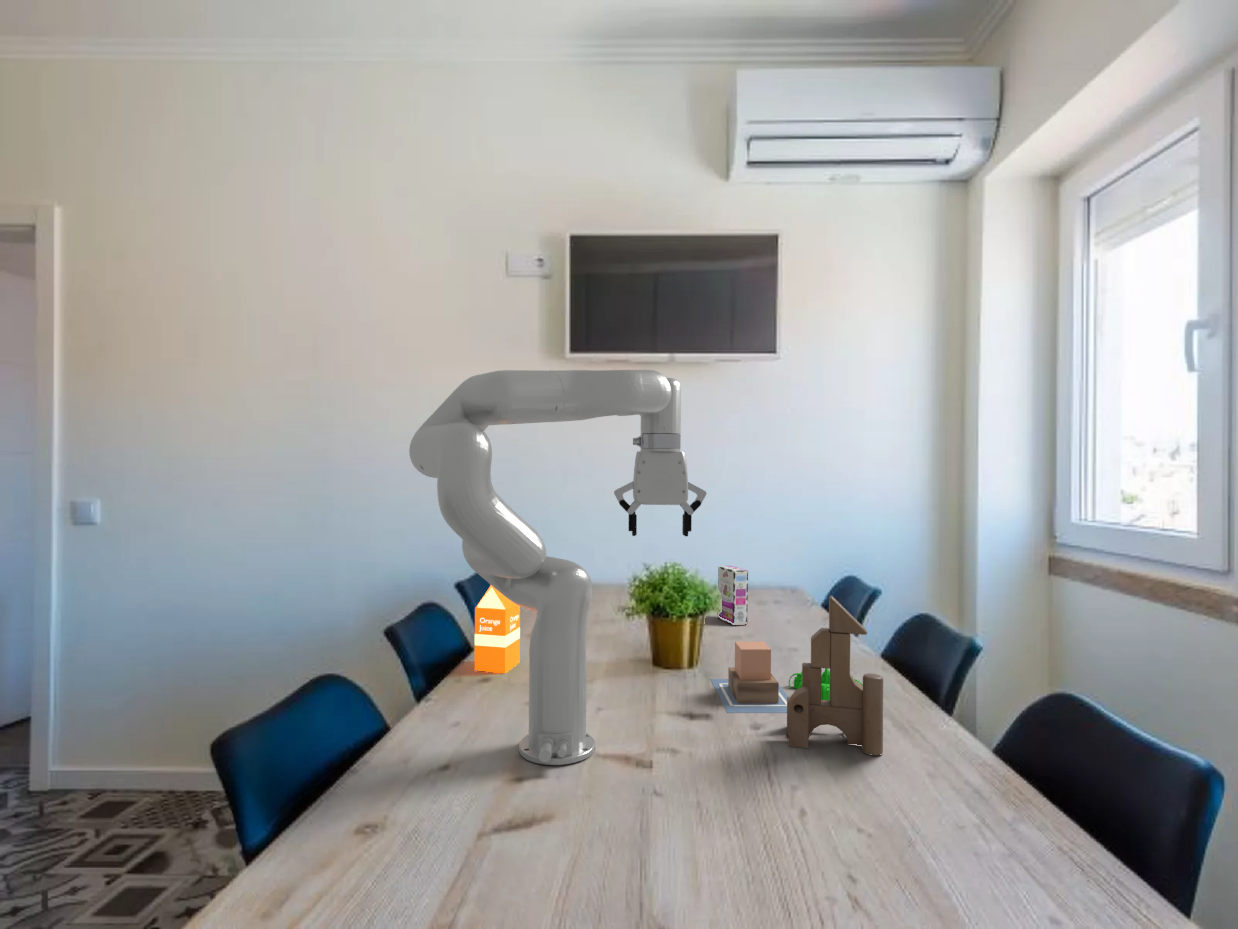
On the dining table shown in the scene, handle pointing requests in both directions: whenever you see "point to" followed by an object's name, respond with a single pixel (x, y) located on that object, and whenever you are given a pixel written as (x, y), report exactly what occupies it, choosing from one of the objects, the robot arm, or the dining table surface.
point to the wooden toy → (837, 689)
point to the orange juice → (496, 633)
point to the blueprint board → (735, 707)
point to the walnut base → (753, 689)
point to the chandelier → (824, 687)
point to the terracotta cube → (753, 661)
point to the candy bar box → (733, 593)
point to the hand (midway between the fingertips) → (659, 535)
